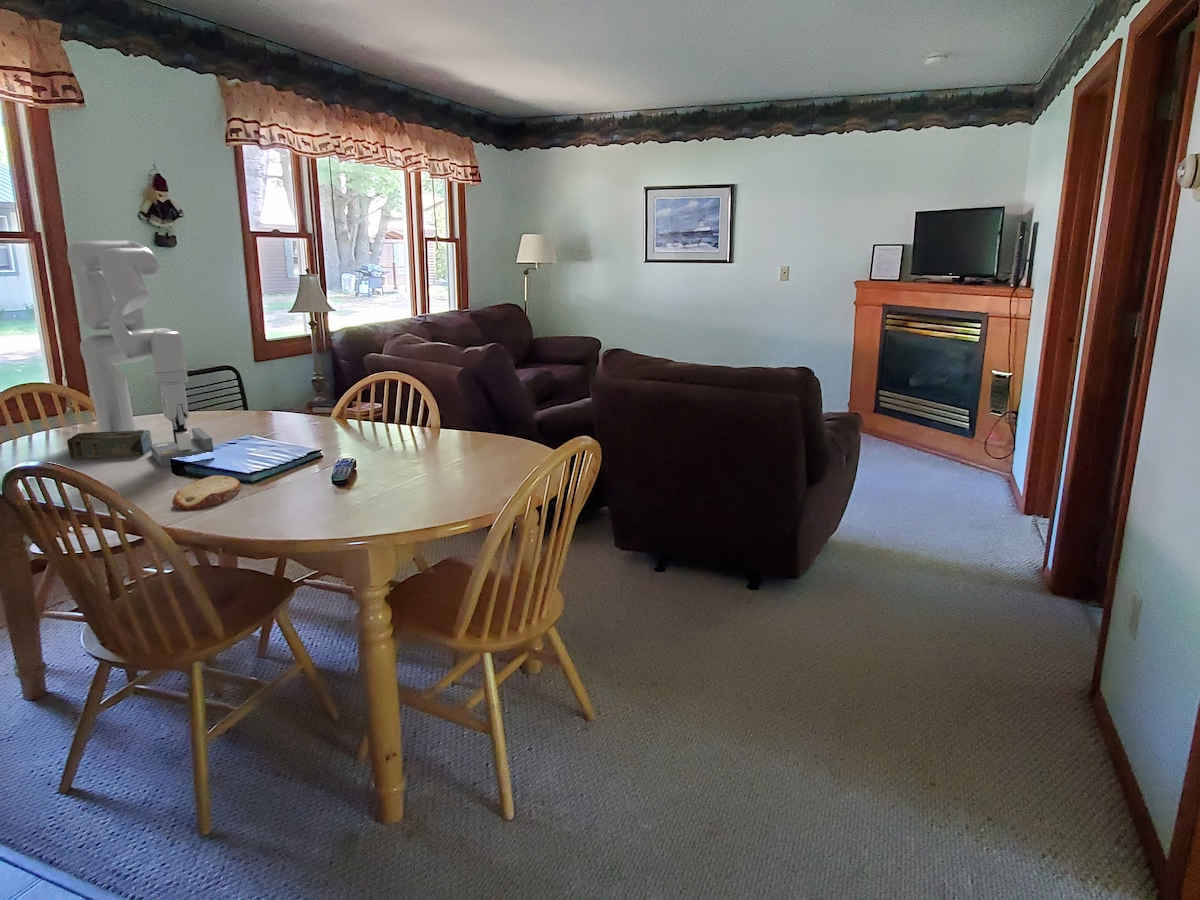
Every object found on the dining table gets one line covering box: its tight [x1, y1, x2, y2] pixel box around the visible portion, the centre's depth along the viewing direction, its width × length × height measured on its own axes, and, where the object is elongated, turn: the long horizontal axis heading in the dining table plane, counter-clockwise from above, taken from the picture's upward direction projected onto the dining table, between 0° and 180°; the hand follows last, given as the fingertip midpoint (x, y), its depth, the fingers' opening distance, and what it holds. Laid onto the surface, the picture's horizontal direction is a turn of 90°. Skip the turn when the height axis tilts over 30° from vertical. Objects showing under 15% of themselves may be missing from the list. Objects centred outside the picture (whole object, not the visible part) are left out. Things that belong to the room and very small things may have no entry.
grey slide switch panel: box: [150, 427, 214, 468], centre depth 219 cm, size 16×13×6 cm
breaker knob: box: [176, 430, 192, 451], centre depth 214 cm, size 2×3×4 cm
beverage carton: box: [66, 429, 153, 460], centre depth 222 cm, size 8×19×7 cm, turn 102°
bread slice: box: [171, 474, 242, 512], centre depth 185 cm, size 18×18×4 cm
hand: (181, 442), depth 217 cm, fingers closed
